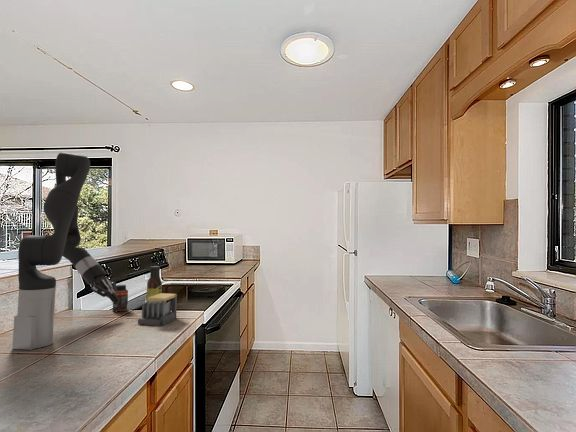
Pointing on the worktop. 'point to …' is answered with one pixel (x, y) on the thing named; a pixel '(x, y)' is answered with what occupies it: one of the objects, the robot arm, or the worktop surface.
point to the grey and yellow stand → (166, 318)
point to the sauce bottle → (154, 282)
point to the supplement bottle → (121, 298)
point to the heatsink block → (155, 309)
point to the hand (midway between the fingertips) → (117, 302)
